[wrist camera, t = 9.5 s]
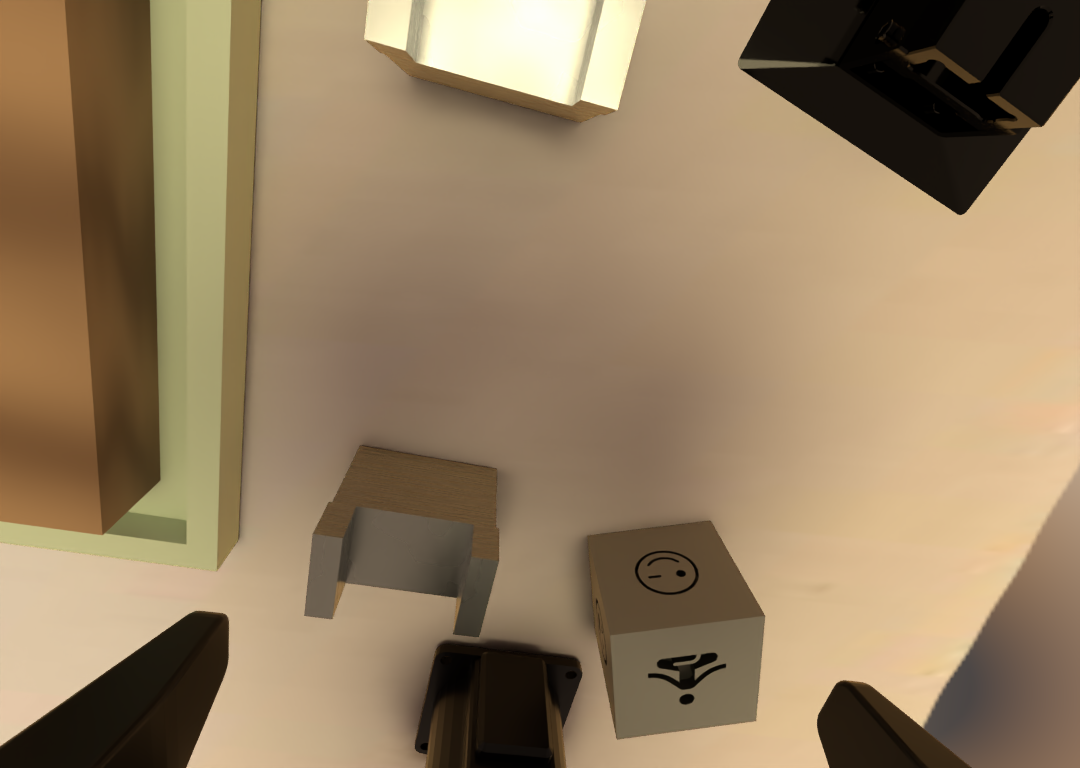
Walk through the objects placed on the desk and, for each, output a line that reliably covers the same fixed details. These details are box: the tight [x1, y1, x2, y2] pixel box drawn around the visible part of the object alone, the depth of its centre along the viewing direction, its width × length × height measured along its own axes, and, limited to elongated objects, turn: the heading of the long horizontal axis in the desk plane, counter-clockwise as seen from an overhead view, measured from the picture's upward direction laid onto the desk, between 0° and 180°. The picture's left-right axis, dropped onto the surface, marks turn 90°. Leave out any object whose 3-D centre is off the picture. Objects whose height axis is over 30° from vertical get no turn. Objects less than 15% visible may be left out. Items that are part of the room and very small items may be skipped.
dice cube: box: [587, 521, 765, 739], centre depth 21 cm, size 5×5×5 cm
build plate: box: [738, 0, 1080, 215], centre depth 14 cm, size 12×7×5 cm, turn 63°
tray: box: [0, 0, 261, 571], centre depth 15 cm, size 23×8×2 cm, turn 167°
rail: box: [0, 0, 161, 535], centre depth 14 cm, size 18×3×3 cm, turn 167°
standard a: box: [304, 446, 499, 637], centre depth 18 cm, size 3×5×5 cm, turn 77°
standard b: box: [364, 0, 646, 123], centre depth 13 cm, size 3×5×5 cm, turn 77°
